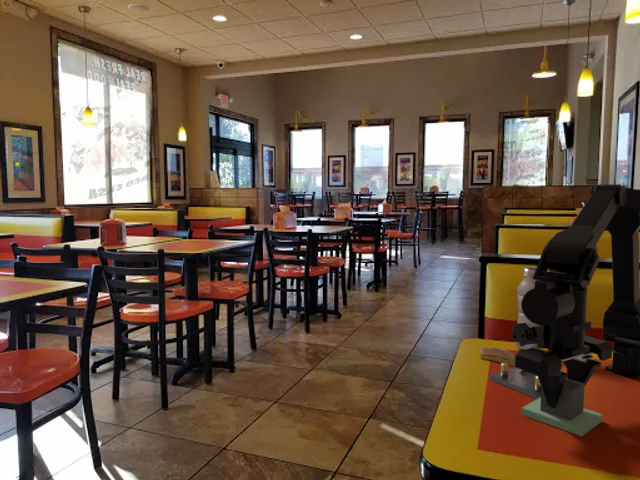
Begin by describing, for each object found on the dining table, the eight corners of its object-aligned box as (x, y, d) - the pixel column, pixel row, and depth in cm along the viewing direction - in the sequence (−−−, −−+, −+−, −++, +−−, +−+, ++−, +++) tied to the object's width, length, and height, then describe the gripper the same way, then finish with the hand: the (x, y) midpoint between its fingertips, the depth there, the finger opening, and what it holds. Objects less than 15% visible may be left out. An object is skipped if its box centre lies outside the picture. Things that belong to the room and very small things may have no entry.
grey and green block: (543, 401, 91) (545, 369, 90) (602, 421, 83) (604, 385, 82) (521, 414, 86) (523, 380, 85) (581, 436, 78) (584, 398, 77)
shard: (525, 371, 107) (526, 363, 107) (491, 371, 107) (491, 363, 107) (505, 354, 118) (506, 347, 118) (474, 354, 118) (474, 347, 118)
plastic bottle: (509, 349, 120) (512, 268, 118) (522, 343, 124) (525, 265, 122) (535, 356, 115) (539, 272, 113) (547, 350, 120) (551, 268, 118)
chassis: (521, 370, 106) (522, 354, 106) (573, 389, 96) (574, 372, 96) (489, 379, 101) (490, 362, 101) (541, 400, 91) (542, 382, 91)
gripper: (557, 298, 94) (553, 377, 96) (489, 310, 85) (486, 397, 86) (616, 311, 84) (611, 398, 86) (548, 326, 75) (543, 423, 77)
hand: (561, 403), depth 84 cm, fingers closed on grey and green block, 5 cm apart
